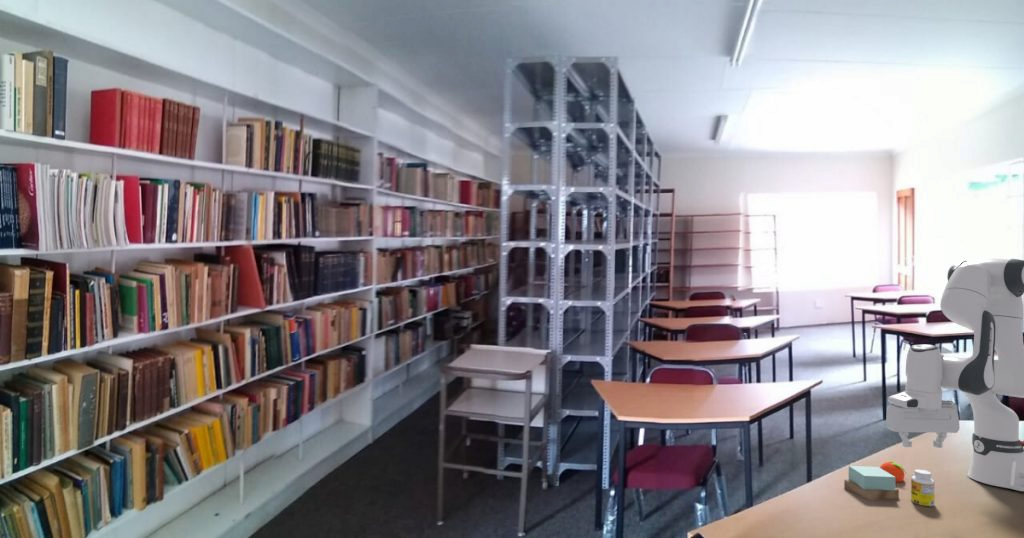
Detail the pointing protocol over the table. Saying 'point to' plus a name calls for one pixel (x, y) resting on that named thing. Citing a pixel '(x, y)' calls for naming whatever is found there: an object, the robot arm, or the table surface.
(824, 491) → the table surface
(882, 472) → the teal block
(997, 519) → the table surface
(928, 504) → the supplement bottle
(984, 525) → the table surface
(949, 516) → the table surface
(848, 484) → the walnut block
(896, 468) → the clementine
